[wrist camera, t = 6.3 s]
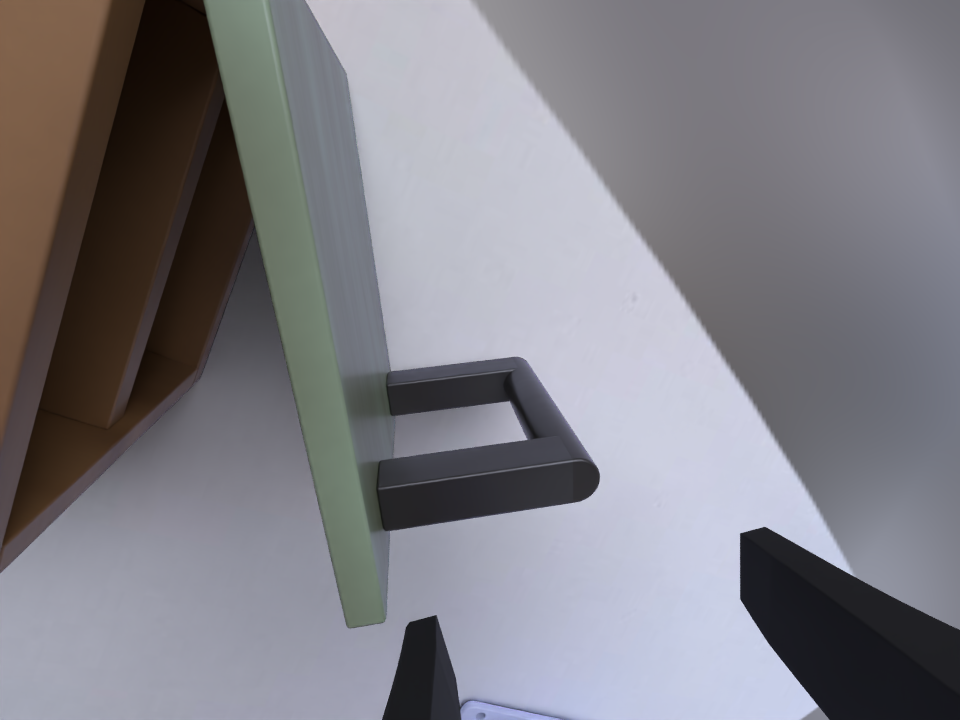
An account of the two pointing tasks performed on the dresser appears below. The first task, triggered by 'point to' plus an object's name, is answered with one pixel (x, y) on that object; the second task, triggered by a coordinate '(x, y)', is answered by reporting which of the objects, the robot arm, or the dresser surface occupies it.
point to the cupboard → (105, 237)
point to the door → (362, 319)
